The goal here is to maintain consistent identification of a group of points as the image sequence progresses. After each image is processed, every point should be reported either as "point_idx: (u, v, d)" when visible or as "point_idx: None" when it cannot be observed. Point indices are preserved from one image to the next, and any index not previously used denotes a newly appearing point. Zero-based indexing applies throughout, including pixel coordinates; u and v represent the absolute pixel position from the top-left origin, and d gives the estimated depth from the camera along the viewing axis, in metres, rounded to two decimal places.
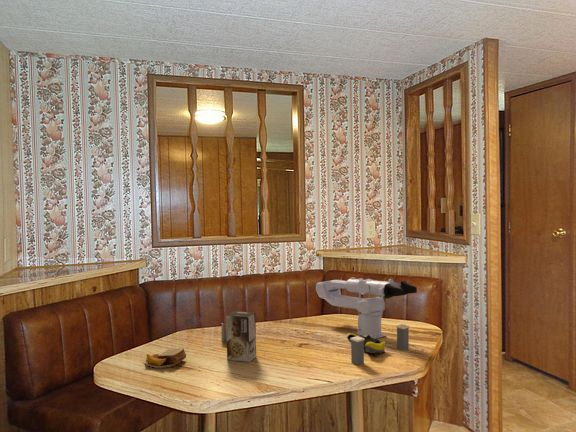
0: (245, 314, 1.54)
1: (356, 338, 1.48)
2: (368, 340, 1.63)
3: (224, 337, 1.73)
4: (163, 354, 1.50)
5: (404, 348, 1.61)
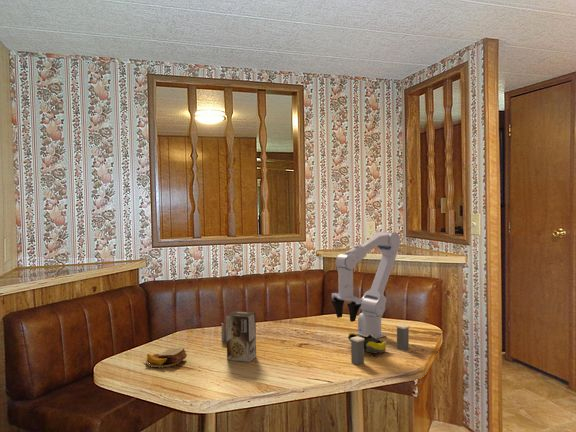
0: (245, 314, 1.54)
1: (356, 338, 1.48)
2: (369, 340, 1.63)
3: (224, 337, 1.73)
4: (164, 354, 1.50)
5: (404, 348, 1.61)
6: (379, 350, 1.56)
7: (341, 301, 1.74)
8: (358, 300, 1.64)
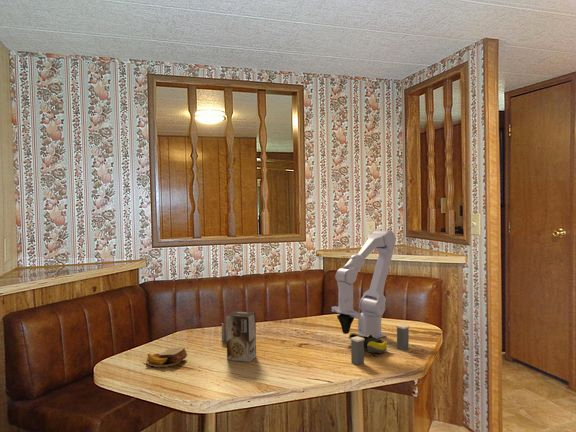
0: (245, 314, 1.54)
1: (356, 338, 1.48)
2: (370, 340, 1.63)
3: (224, 337, 1.73)
4: (165, 353, 1.50)
5: (404, 348, 1.61)
6: (380, 350, 1.56)
7: None
8: (358, 315, 1.64)
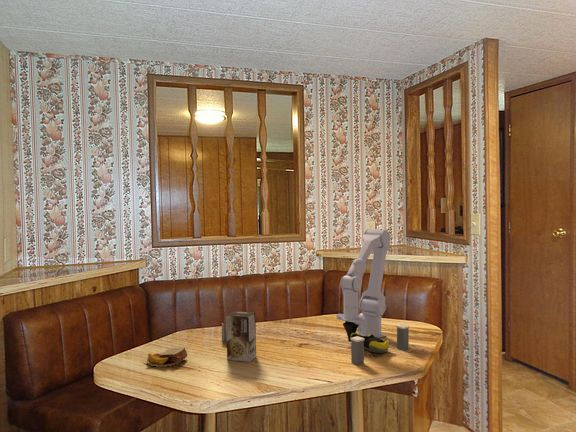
0: (245, 314, 1.54)
1: (356, 338, 1.48)
2: (372, 339, 1.63)
3: (224, 337, 1.73)
4: (165, 353, 1.51)
5: (404, 348, 1.61)
6: (382, 349, 1.56)
7: None
8: (363, 323, 1.62)
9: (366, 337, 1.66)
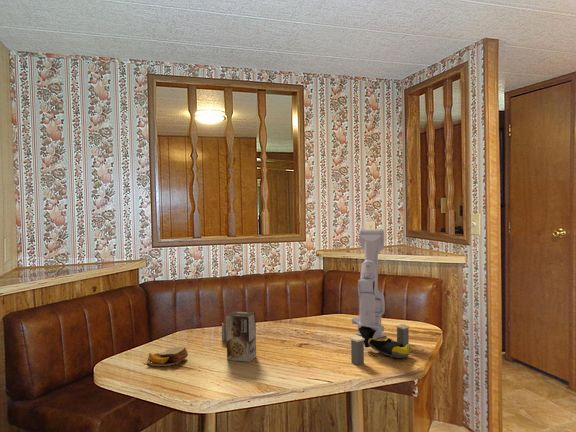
0: (245, 314, 1.54)
1: (356, 338, 1.48)
2: (390, 344, 1.57)
3: (224, 337, 1.73)
4: (166, 353, 1.51)
5: None
6: (404, 355, 1.50)
7: None
8: (381, 328, 1.55)
9: (383, 342, 1.60)
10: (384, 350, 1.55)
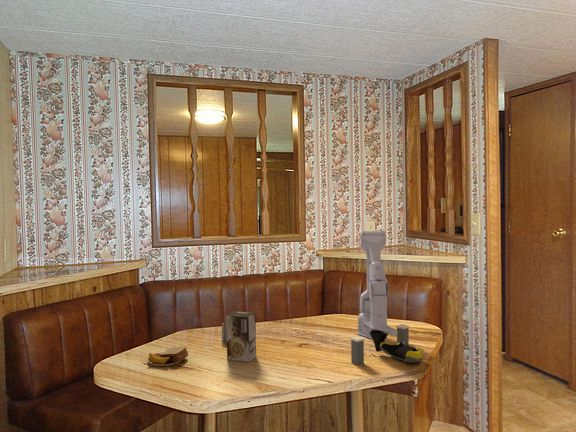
0: (245, 314, 1.54)
1: (356, 338, 1.48)
2: (403, 348, 1.53)
3: (224, 337, 1.73)
4: (166, 352, 1.51)
5: None
6: (418, 359, 1.45)
7: None
8: (393, 331, 1.51)
9: (396, 346, 1.55)
10: (397, 354, 1.51)
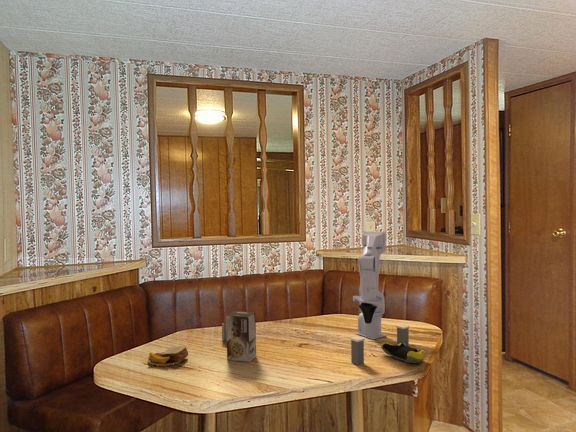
0: (245, 314, 1.54)
1: (356, 338, 1.48)
2: (404, 349, 1.53)
3: (225, 337, 1.73)
4: (166, 352, 1.52)
5: None
6: (419, 360, 1.46)
7: None
8: (381, 303, 1.59)
9: (397, 346, 1.56)
10: (398, 355, 1.51)
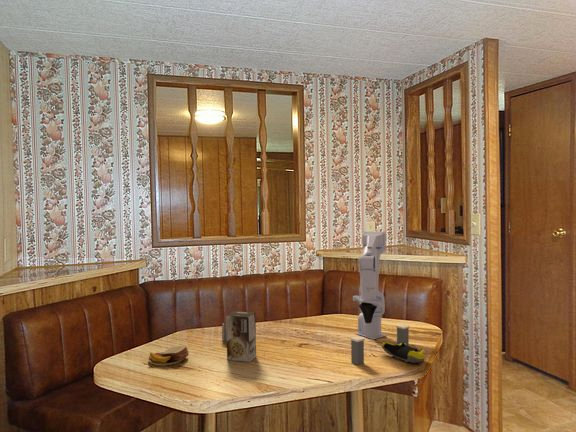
0: (245, 314, 1.54)
1: (356, 338, 1.48)
2: (405, 349, 1.53)
3: (225, 337, 1.73)
4: (167, 352, 1.52)
5: None
6: (420, 359, 1.46)
7: None
8: (382, 303, 1.59)
9: (398, 346, 1.56)
10: (399, 354, 1.51)
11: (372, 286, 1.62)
